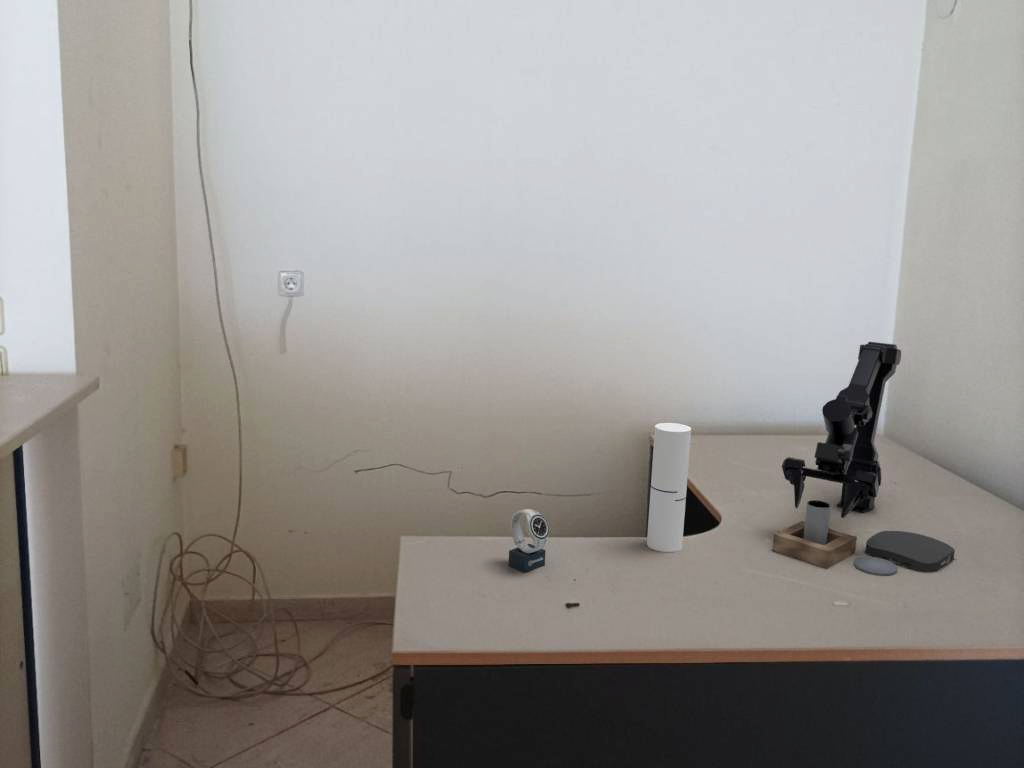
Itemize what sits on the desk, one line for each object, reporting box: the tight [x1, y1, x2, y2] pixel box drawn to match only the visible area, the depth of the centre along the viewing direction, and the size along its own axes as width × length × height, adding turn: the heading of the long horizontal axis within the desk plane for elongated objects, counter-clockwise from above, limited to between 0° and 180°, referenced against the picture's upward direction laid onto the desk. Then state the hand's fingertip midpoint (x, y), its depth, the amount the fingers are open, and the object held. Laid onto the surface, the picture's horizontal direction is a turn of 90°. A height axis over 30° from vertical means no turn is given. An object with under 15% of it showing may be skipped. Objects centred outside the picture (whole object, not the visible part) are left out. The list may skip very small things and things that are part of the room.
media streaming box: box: [865, 530, 956, 573], centre depth 189 cm, size 15×15×3 cm
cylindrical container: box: [646, 422, 692, 553], centre depth 187 cm, size 7×7×25 cm
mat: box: [853, 555, 898, 577], centre depth 182 cm, size 8×8×1 cm
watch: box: [508, 508, 550, 574], centre depth 176 cm, size 6×8×11 cm
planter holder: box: [771, 520, 858, 569], centre depth 188 cm, size 12×12×4 cm
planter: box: [803, 499, 831, 545], centre depth 188 cm, size 4×4×10 cm
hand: (818, 512), depth 187 cm, fingers open, 9 cm apart
